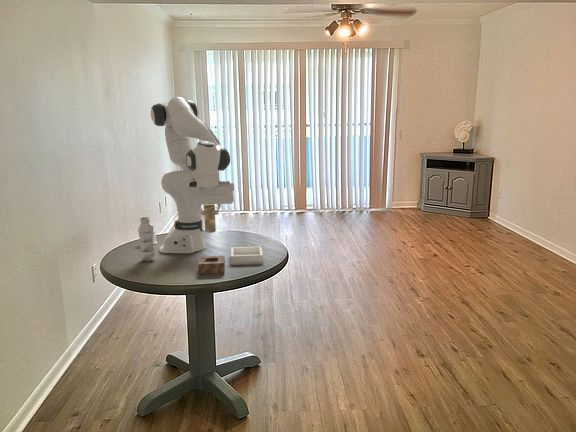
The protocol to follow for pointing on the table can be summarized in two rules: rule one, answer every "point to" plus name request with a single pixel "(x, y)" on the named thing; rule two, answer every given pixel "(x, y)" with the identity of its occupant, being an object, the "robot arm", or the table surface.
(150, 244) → the plastic bottle
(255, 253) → the tray
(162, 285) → the table surface
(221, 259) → the socket
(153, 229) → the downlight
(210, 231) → the pin
